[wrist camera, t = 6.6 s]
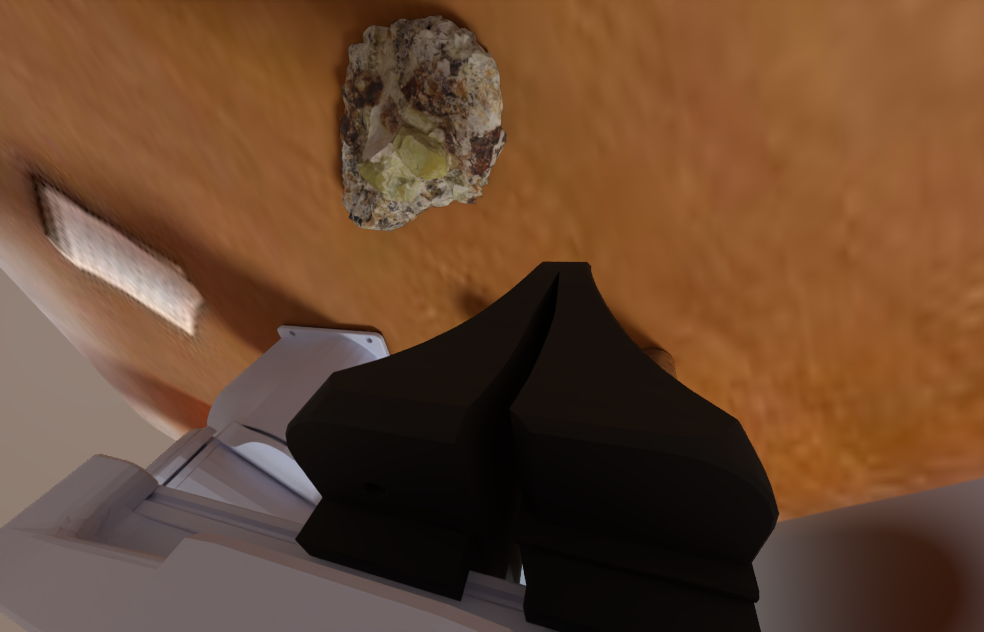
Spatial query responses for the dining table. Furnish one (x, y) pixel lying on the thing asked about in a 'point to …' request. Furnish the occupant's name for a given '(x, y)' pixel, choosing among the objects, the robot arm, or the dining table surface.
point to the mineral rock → (417, 121)
